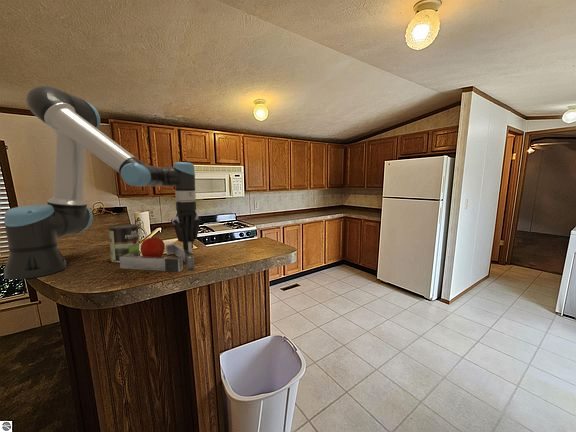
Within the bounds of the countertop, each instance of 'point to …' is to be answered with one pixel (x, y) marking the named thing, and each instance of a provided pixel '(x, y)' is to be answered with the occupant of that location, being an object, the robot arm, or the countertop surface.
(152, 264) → the long grey bar
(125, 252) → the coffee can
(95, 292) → the countertop surface
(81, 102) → the robot arm
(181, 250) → the jaw
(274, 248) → the countertop surface
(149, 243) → the apple
